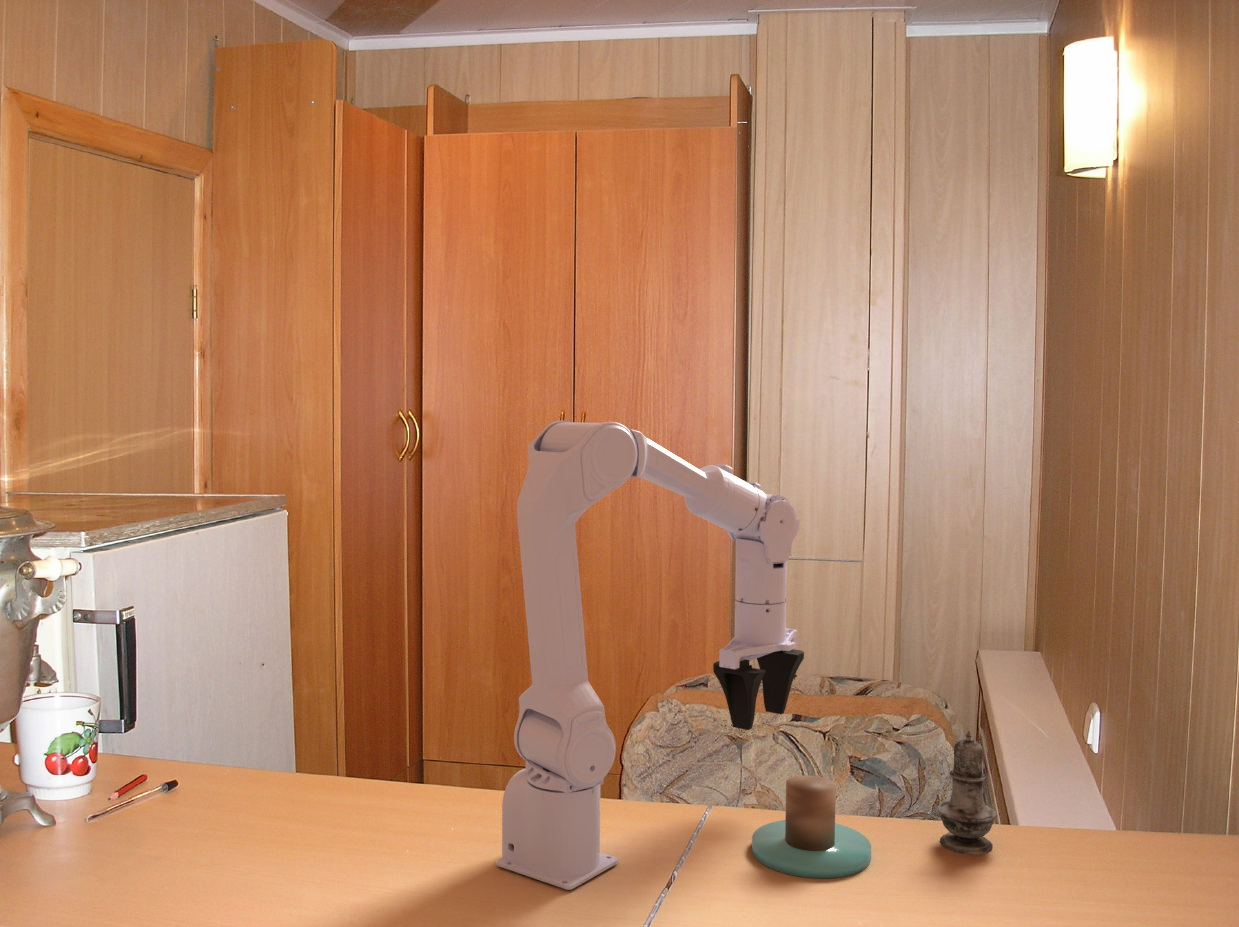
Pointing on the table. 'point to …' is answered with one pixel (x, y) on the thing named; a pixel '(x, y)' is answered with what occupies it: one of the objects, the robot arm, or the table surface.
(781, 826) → the teal rounded disc
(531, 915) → the table surface
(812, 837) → the walnut cylinder
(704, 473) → the robot arm
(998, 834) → the table surface
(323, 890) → the table surface
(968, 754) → the salt shaker
